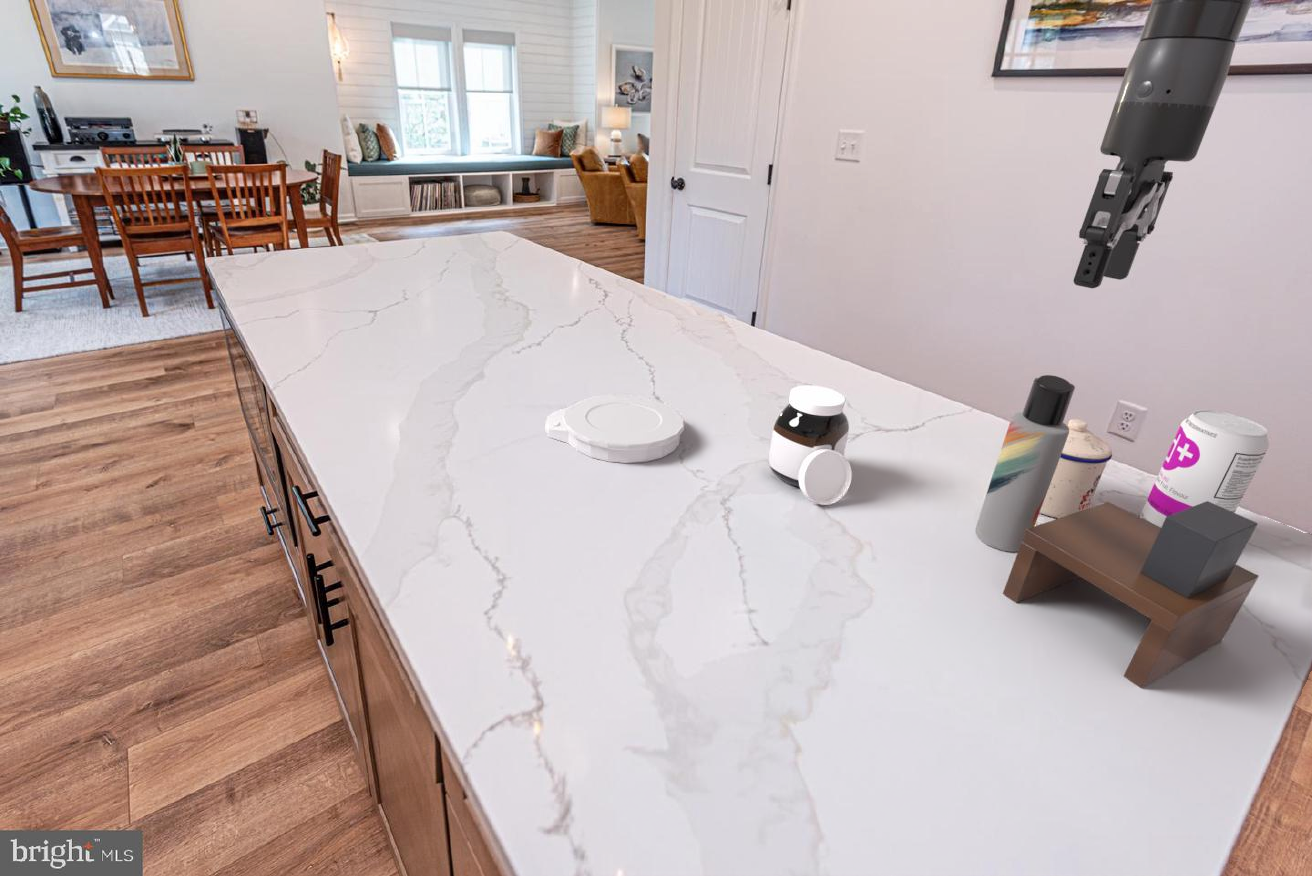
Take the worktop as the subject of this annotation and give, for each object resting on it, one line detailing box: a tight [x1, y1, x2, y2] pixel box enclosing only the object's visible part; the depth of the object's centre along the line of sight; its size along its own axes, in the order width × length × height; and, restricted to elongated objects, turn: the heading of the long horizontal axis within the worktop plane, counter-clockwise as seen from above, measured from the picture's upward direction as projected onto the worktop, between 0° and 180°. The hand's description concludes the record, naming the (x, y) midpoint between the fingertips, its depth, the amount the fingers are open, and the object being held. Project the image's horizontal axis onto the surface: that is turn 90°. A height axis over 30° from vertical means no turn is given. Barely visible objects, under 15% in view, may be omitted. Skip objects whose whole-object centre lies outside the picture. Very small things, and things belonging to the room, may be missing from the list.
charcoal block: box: [1141, 501, 1258, 598], centre depth 60 cm, size 7×4×6 cm, turn 118°
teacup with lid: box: [1039, 418, 1113, 519], centre depth 87 cm, size 12×9×12 cm
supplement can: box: [1139, 409, 1270, 527], centre depth 81 cm, size 8×8×15 cm
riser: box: [1002, 501, 1260, 689], centre depth 66 cm, size 14×14×8 cm
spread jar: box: [768, 384, 853, 506], centre depth 86 cm, size 12×11×12 cm
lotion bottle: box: [975, 374, 1076, 553], centre depth 75 cm, size 6×6×20 cm
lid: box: [544, 393, 685, 464], centre depth 97 cm, size 17×20×3 cm
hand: (1100, 281), depth 68 cm, fingers open, 8 cm apart
